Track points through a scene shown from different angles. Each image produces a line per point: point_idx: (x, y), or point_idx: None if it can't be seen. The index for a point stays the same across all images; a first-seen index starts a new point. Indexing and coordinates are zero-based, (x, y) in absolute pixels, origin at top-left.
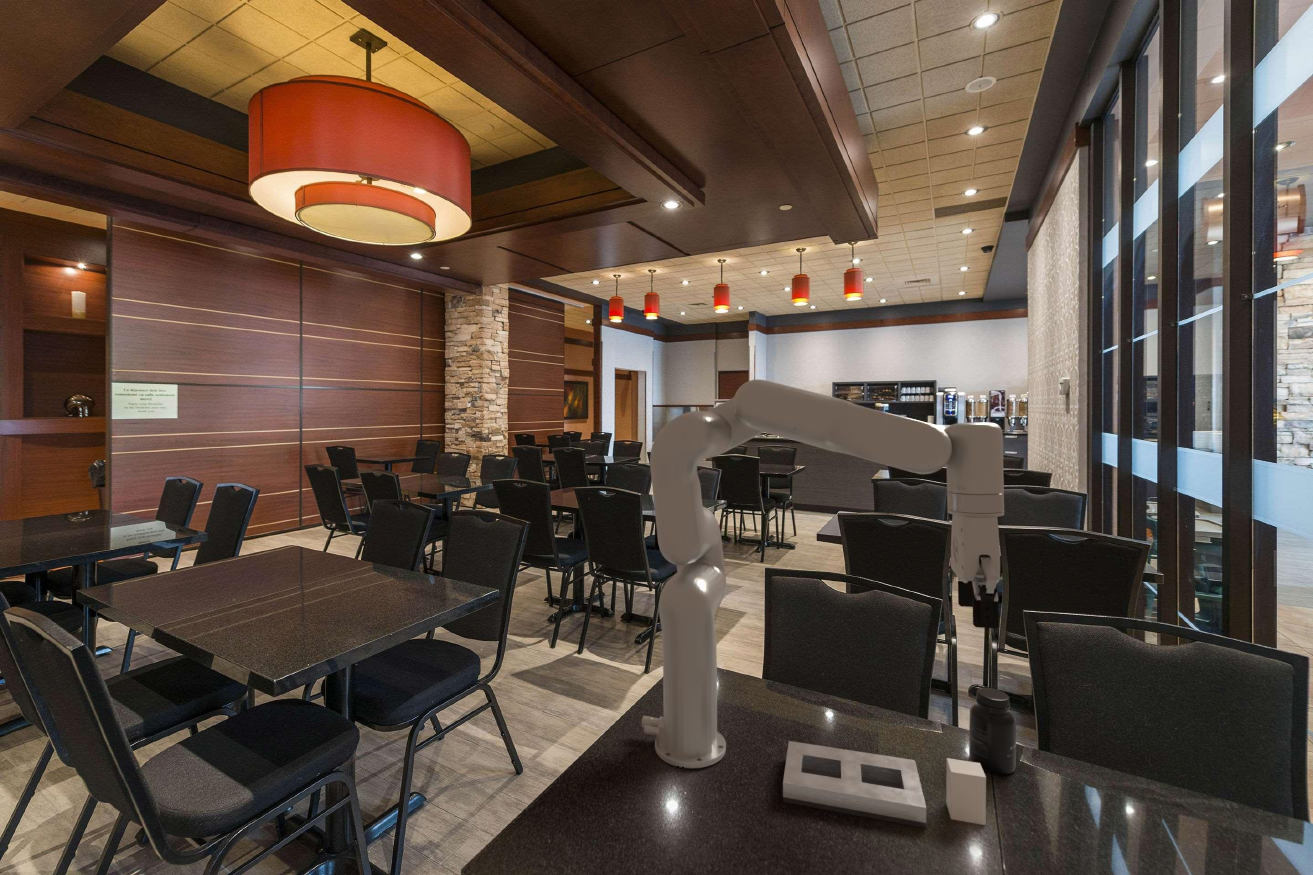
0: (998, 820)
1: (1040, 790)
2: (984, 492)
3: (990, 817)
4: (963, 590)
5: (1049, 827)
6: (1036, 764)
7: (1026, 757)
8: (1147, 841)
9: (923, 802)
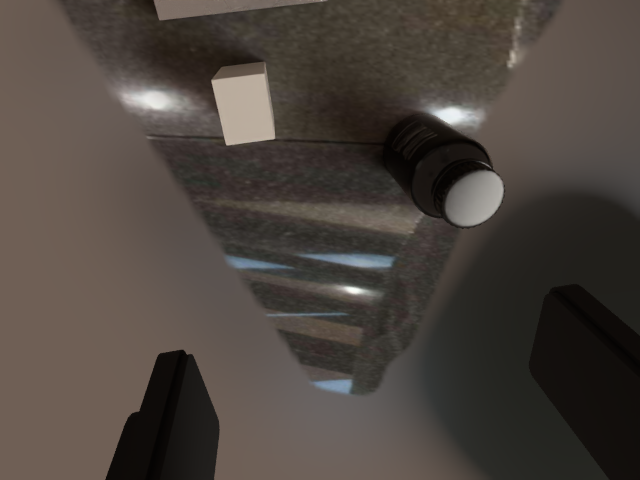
0: None
1: (360, 205)
2: None
3: None
4: (619, 384)
5: (271, 204)
6: None
7: None
8: (294, 294)
9: (174, 14)
